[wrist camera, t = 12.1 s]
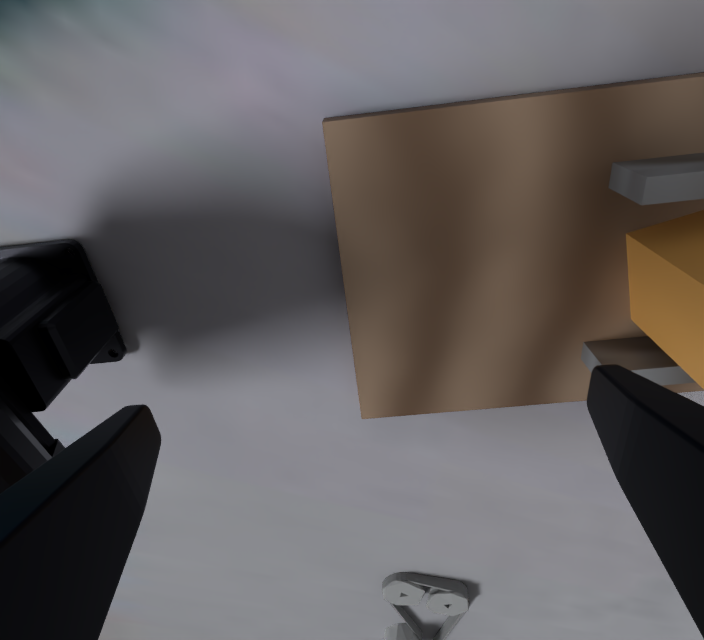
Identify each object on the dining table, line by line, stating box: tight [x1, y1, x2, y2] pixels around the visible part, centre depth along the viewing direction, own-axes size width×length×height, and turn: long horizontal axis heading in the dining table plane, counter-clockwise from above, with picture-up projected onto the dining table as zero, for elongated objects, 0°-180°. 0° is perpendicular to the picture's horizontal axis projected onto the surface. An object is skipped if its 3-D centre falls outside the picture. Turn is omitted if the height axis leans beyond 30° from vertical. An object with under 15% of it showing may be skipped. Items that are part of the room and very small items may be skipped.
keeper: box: [322, 72, 704, 419], centre depth 20 cm, size 20×15×4 cm
